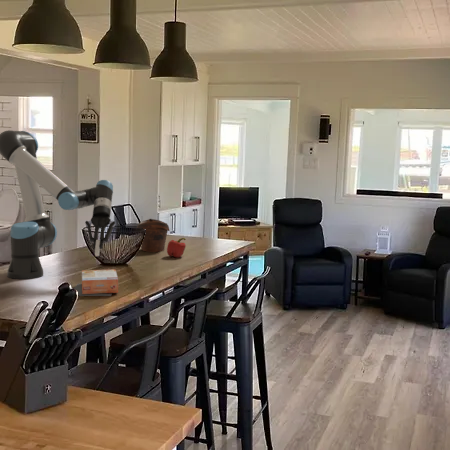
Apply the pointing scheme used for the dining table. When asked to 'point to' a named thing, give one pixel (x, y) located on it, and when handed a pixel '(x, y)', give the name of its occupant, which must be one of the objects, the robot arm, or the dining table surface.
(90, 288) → the cracker box
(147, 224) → the brown lidded pot
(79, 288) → the grey mat
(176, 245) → the vegetable
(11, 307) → the dining table surface
